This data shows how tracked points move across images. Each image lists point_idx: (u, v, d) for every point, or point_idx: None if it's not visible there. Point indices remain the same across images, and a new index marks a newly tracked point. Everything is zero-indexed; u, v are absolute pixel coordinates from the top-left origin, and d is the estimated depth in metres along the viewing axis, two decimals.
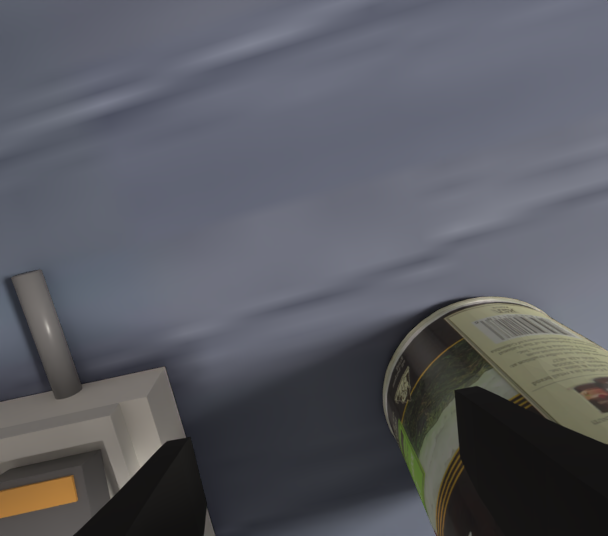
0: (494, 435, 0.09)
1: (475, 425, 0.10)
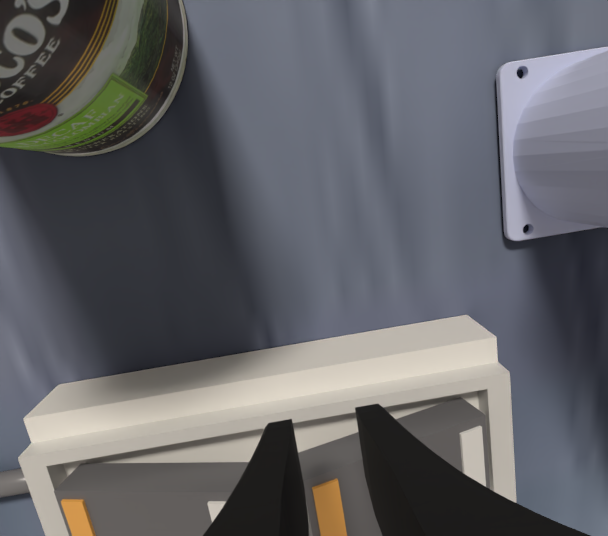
0: (375, 457, 0.09)
1: (366, 445, 0.10)
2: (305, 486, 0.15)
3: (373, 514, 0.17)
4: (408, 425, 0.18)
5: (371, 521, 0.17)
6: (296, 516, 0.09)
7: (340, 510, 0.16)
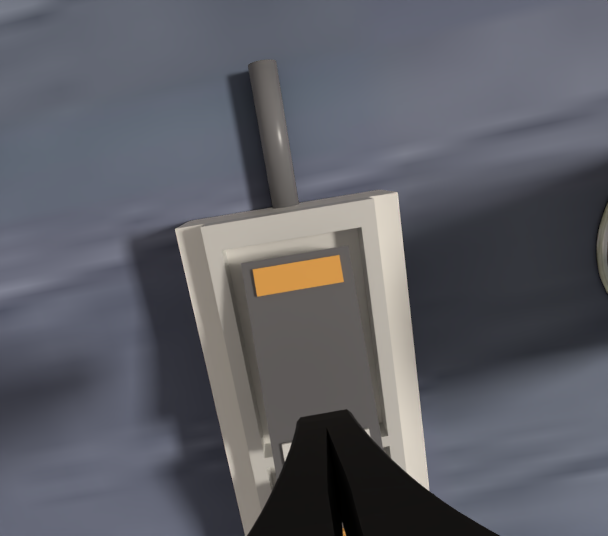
0: (337, 463, 0.09)
1: (331, 451, 0.10)
2: None
3: None
4: None
5: None
6: (335, 509, 0.09)
7: None
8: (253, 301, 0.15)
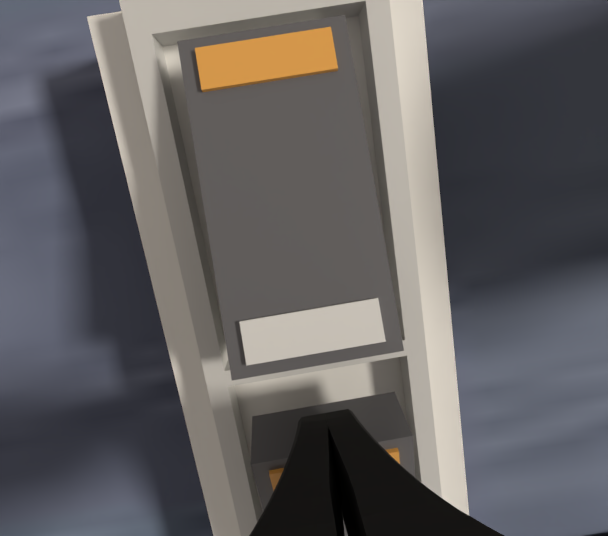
0: (339, 463, 0.09)
1: (333, 451, 0.10)
2: (403, 440, 0.10)
3: None
4: None
5: None
6: (337, 509, 0.09)
7: None
8: (195, 99, 0.10)
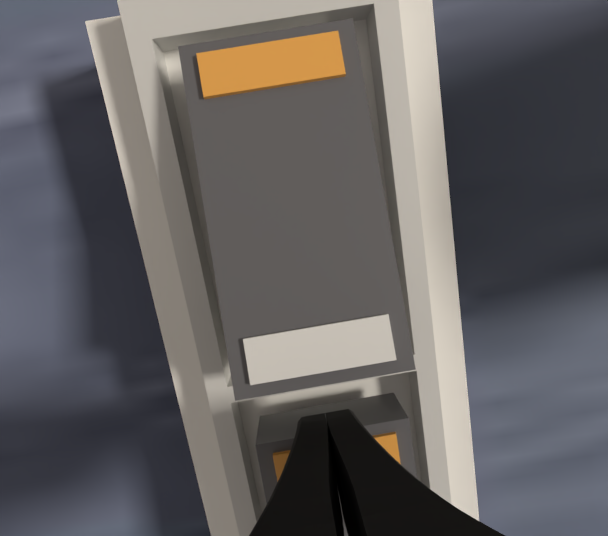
0: (339, 463, 0.09)
1: (333, 451, 0.10)
2: (399, 422, 0.11)
3: None
4: None
5: None
6: (337, 509, 0.09)
7: None
8: (197, 106, 0.09)
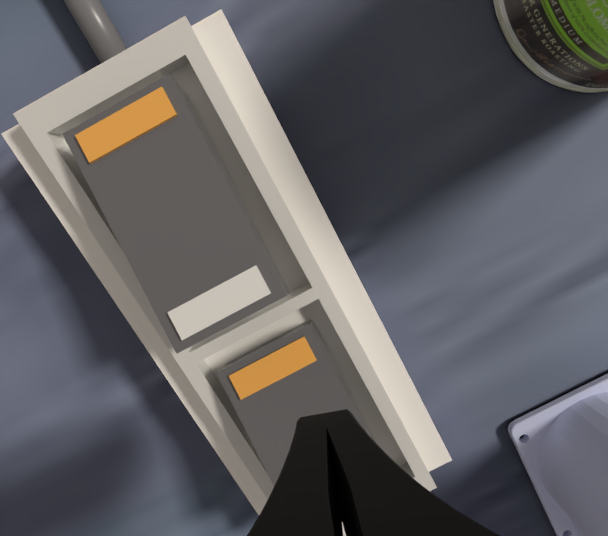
0: (337, 463, 0.09)
1: (331, 451, 0.10)
2: (305, 328, 0.16)
3: (280, 416, 0.16)
4: (370, 434, 0.16)
5: (272, 416, 0.16)
6: (335, 509, 0.09)
7: (283, 374, 0.16)
8: (88, 170, 0.14)
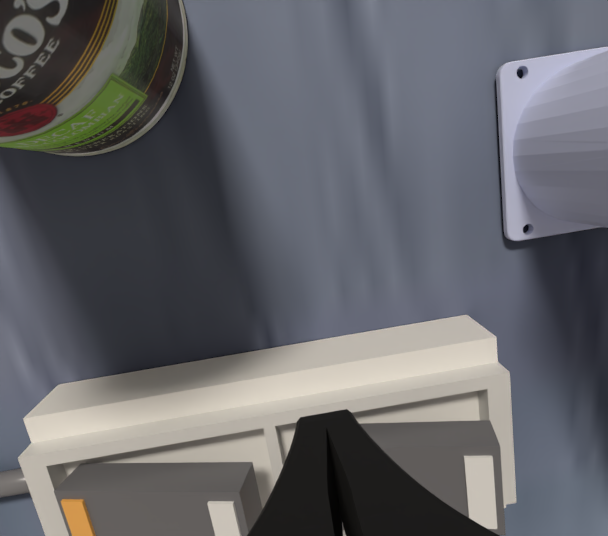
0: (337, 463, 0.09)
1: (331, 451, 0.10)
2: None
3: None
4: (413, 431, 0.17)
5: None
6: (335, 509, 0.09)
7: None
8: None
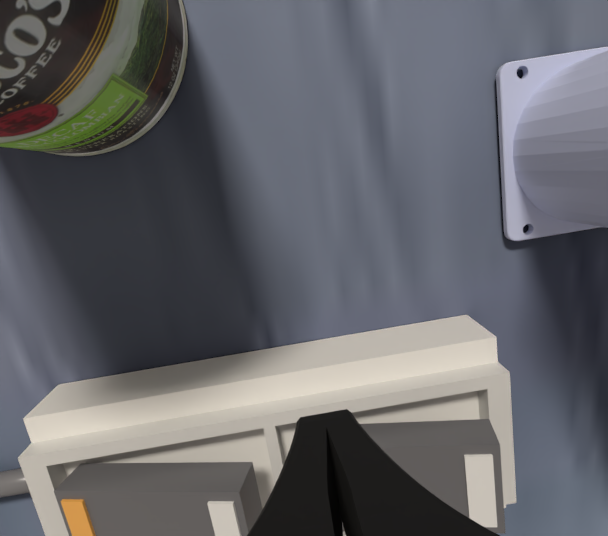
0: (337, 463, 0.09)
1: (331, 451, 0.10)
2: None
3: None
4: (413, 431, 0.17)
5: None
6: (335, 509, 0.09)
7: None
8: None
